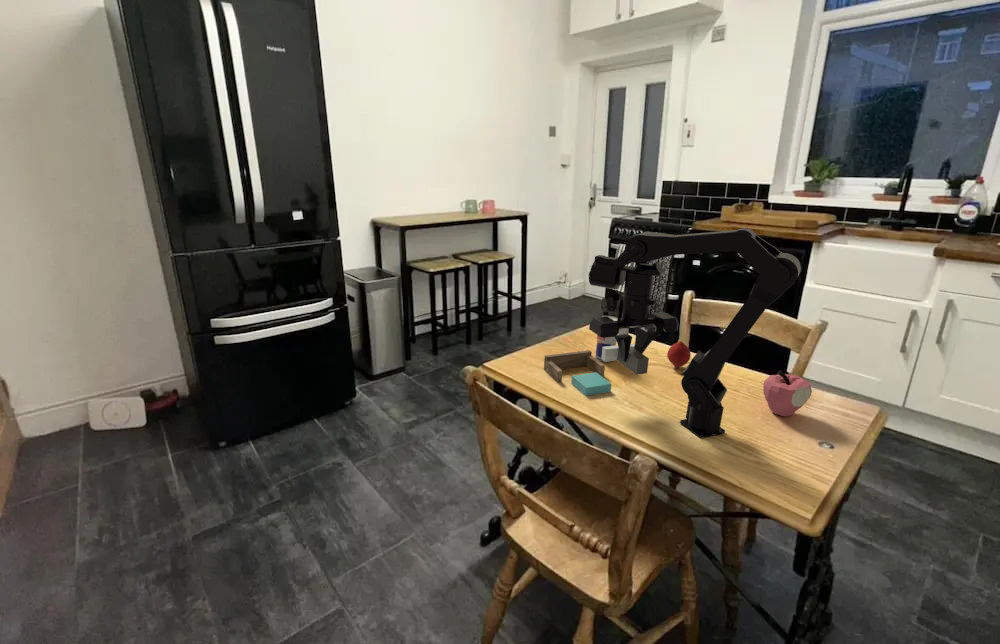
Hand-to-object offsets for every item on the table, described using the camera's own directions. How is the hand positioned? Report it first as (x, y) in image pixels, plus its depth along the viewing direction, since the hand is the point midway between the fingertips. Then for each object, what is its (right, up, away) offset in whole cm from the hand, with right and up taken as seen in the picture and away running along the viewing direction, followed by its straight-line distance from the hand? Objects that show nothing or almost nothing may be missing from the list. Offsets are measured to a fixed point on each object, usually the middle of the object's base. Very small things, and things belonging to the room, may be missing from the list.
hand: (629, 360), depth 106 cm
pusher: (0, -1, 0) cm, 1 cm away
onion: (+20, -4, +25) cm, 32 cm away
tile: (-6, -8, +12) cm, 16 cm away
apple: (+34, -12, +2) cm, 37 cm away
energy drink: (+1, -2, +29) cm, 30 cm away
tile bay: (-9, -5, +19) cm, 22 cm away
